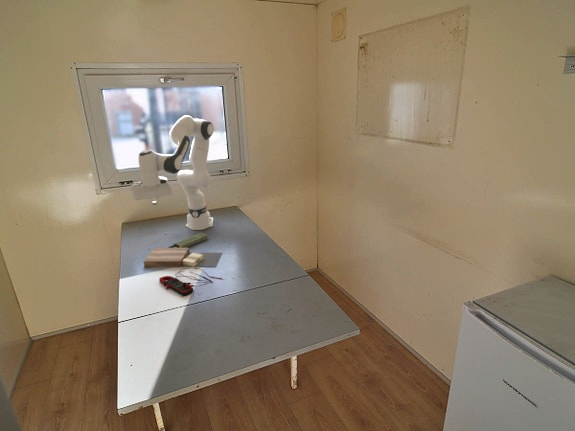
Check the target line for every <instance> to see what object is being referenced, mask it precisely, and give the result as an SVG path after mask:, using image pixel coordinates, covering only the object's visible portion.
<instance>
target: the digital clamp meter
mask: <svg viewBox="0 0 575 431" xmlns="http://www.w3.org/2000/svg"><path fill="white" fill-rule="evenodd" d="M187 269H189V267H183V268H181V269H179V270H178V272H176V273H174V274H175V276H176V277H174V276H171V275H164V276H161V277H159V278H158V281H159V283H160V284H162V285H163V287H165V289H166V290H169V289H170V290H171V291H173V292H174V293H176V294H178V295H180V296H182V297H183V298H184V297H185V298H186V297H188V296H190V295H192V294H193V293H194V287H195V285H194V284H193V282H183V281H181V280H180V279H178V277H179V278H182V277H183V278H184V277H185V278H188V279H190V280H194V281H195V280H196V281H197V282H195V284H199V283H201V284H200V285H199V287H201V286H204V285H207V284H214V281H212V280H211V279H217V280H224V281H225V280H226V279H224V278H222V277H218V276H217V277H216V276H211V275H208V274H207V272H206V271H204V269H203V268H200V267H194V269H195V270H202V272H204V273H205V274H206V276H207V277H205V276H202V275H200V274H197V273H194V272H193V271H190V273H192V274H194V275H197V276H199V277H202V278H203V279H205V280H203V279H198V278H196V277H195V276H192V275H191V276H190V275H184V274H182V272H184V270H187ZM178 274H179V275H178ZM180 275H181V276H180ZM208 277H209V278H210V279H209V278H208Z"/></svg>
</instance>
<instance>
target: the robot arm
mask: <svg viewBox="0 0 575 431" xmlns="http://www.w3.org/2000/svg"><path fill="white" fill-rule="evenodd" d="M214 130H215V128H214V124H213V123H212V122H211V121H209V120H207V119H201V118H193V117H192V116H191V115H189V114H187V115H183V116H182V117H180V118H179V119H178V120H177V121H176V122H175V123H174V125H173V126H172V128H171V129H170V130H169V136H170V140H171V141H172V142H173V143H174V144H176V145H177V147H176V149H175V151H174V153H172V154H163V153H157V152H156V151H154V150H152V149H145V150H142V151H140V152H139V154H138V166H139V169H140V178H141V181H138V182H133V183H132V184H131V185H130V190H131V192H132V197H133V200H134V201H139V200H146V199H148V201H149V202H150V204H151V206H157V205H158V201H159V199H160V198H162V197H168V196H172V195H173V190H172V187H171V184H170V183H169V178H168V177H165V176H161V175H160V176H159V172H162V173H167V174H173V175H174V174H176V181H177V183H178V184H179V185H180V186H181V187H182V188H183V191H184V193H185V195H186V200H187V204H188V207H187V211H188V214H187V215H186V222H187V223H186V224H185V228H188V229H189V230H192V231H193V230H194V231H200V230H205V229H208V228H212V227H213V226H214V217H211V213H210V211H208V208H207V207H208V206H207V203H206V200H205V197H206V196H205V195H204V193H203V192H202V191H201V190H200V189H202V190H203V189H208V188H210V186H211V184H212V176H211V174H210V173H209V172H208V168H207V160H208V155H209V147H210V139H211V136H212V135H213V133H214ZM191 137H193V140H192V143H191V139H190V138H191ZM190 145H191V148H190ZM189 149H190V153H189V156H188V160H189V162H190V164H191V165H192V170H191V169H183V170H182V166H183V161H184V159H185V157H186V155H187V152H188V151H189ZM154 198H155V200H153V201H152V199H154Z"/></svg>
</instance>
